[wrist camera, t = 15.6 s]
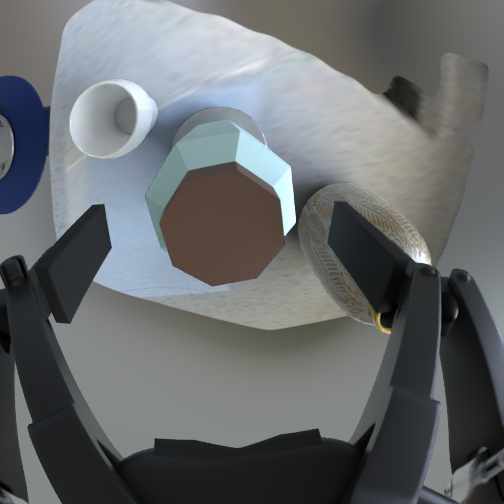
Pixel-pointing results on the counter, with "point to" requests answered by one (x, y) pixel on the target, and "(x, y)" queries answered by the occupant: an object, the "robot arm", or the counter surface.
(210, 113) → the navy round container
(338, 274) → the vase
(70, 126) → the cup
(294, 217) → the water bottle
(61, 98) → the counter surface
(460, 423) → the robot arm
